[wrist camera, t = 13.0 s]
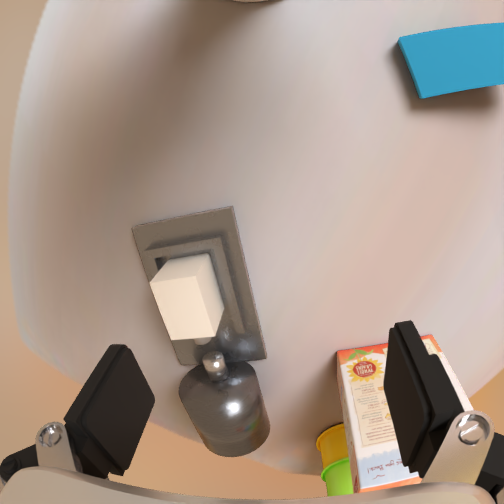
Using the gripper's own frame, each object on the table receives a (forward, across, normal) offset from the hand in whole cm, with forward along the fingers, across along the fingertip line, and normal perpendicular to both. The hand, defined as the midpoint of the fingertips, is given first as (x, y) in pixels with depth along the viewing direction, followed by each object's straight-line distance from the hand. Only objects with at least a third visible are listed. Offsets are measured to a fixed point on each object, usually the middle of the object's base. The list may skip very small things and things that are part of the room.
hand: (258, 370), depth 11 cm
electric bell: (+24, +10, +16) cm, 31 cm away
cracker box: (+24, -12, +24) cm, 36 cm away
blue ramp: (+26, -25, -14) cm, 39 cm away
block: (+24, +10, +8) cm, 27 cm away
